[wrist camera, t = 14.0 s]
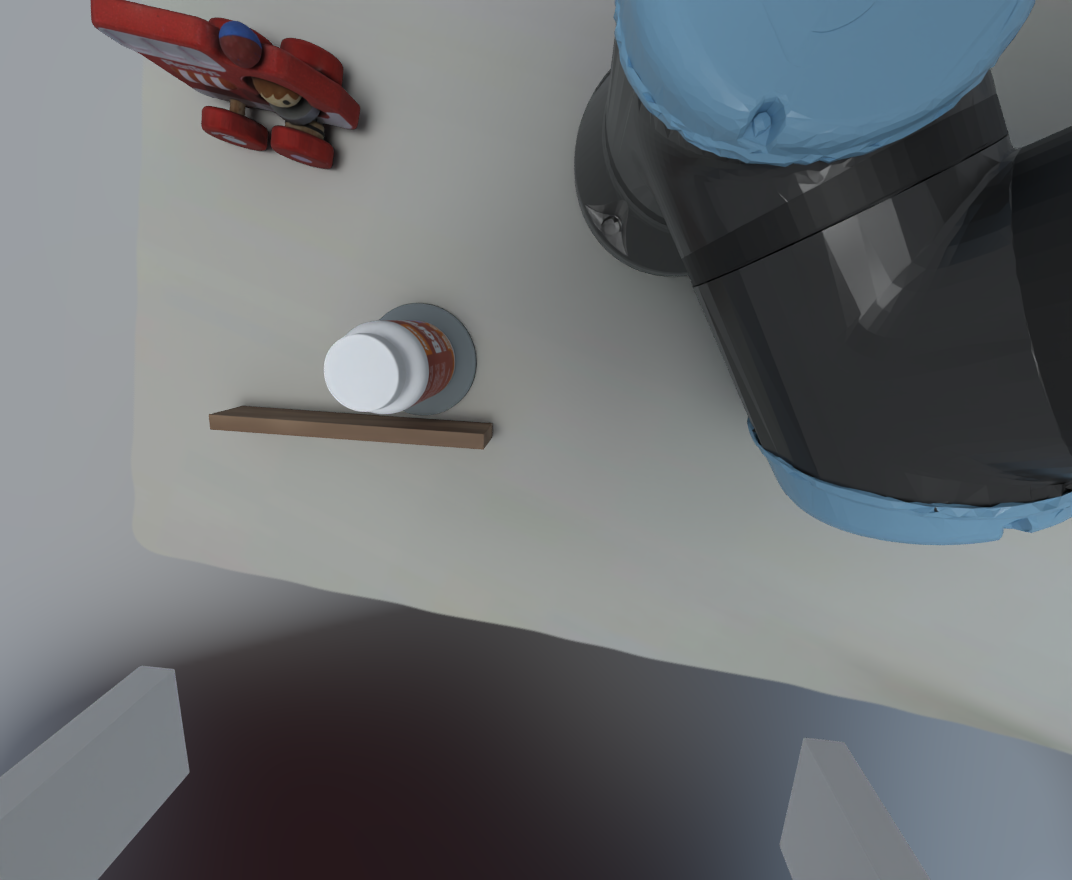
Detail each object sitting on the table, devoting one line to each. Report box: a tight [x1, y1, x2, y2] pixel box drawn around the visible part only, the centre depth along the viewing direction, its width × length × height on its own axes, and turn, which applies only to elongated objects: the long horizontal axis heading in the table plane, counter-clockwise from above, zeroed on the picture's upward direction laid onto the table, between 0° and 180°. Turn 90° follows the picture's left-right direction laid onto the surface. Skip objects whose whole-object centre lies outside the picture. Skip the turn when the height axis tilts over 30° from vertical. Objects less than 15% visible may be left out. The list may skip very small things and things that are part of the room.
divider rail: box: [209, 406, 493, 449], centre depth 40 cm, size 1×22×4 cm, turn 88°
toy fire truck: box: [91, 0, 360, 169], centre depth 32 cm, size 7×12×10 cm, turn 76°
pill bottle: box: [324, 320, 455, 414], centre depth 35 cm, size 6×6×11 cm
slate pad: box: [380, 303, 476, 415], centre depth 40 cm, size 9×9×1 cm
